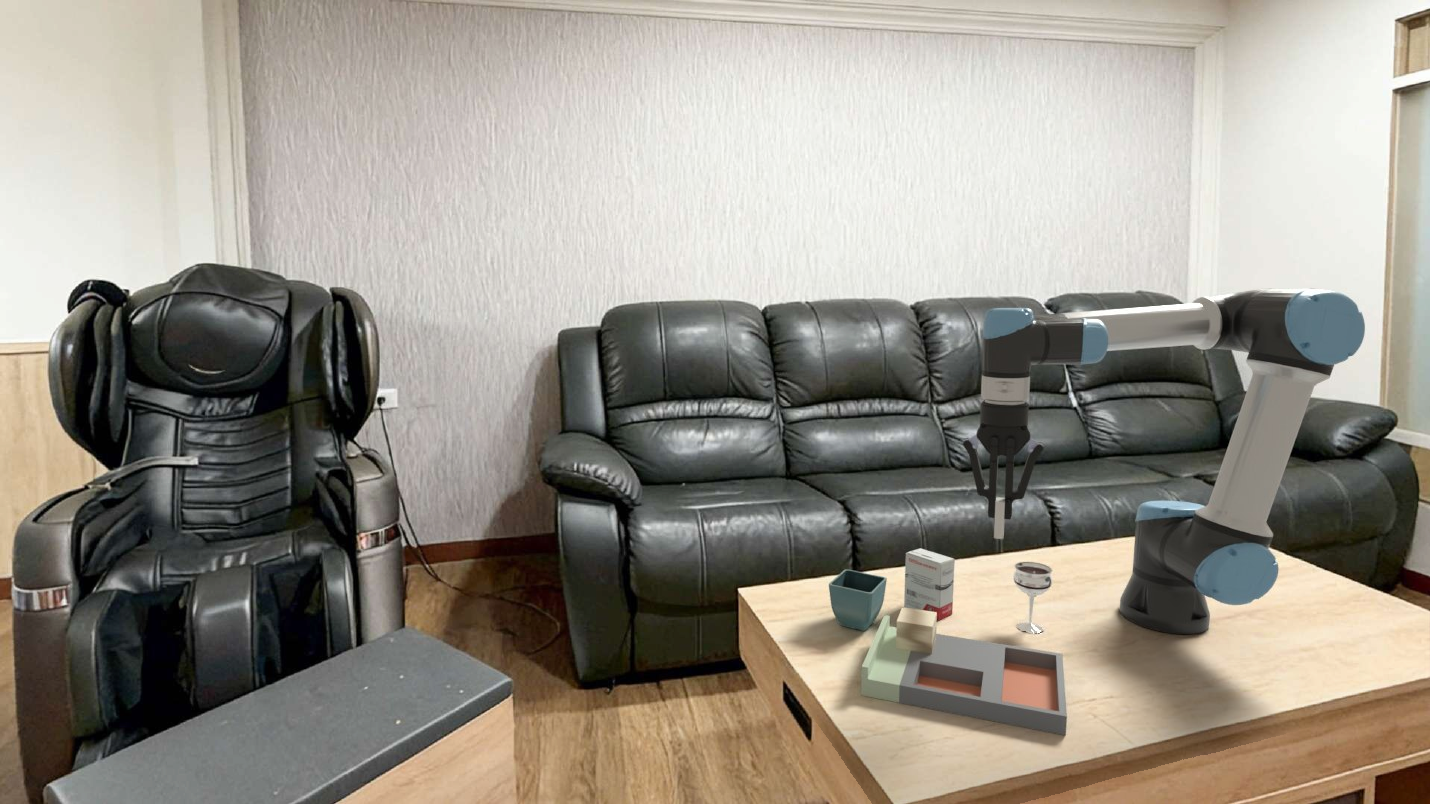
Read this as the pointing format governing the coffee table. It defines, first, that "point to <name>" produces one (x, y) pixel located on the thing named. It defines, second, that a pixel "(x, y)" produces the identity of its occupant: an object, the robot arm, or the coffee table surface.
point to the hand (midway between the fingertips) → (998, 536)
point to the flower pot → (857, 598)
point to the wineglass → (1032, 588)
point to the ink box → (929, 582)
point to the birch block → (916, 630)
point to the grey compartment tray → (970, 679)
